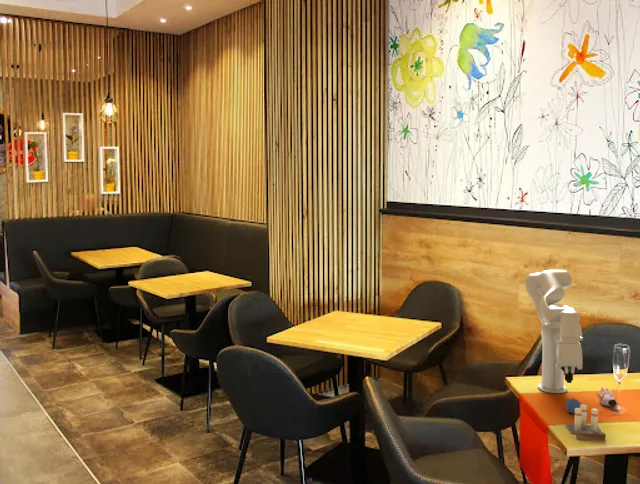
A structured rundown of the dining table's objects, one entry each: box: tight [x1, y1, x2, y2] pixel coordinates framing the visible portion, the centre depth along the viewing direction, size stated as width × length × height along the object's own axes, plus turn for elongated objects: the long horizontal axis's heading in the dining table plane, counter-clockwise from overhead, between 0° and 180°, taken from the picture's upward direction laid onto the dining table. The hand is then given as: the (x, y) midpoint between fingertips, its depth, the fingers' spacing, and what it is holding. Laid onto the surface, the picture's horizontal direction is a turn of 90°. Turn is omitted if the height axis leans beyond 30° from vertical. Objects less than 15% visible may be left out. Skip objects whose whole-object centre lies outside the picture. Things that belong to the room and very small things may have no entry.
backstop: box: [575, 431, 607, 442], centre depth 243 cm, size 2×10×2 cm, turn 82°
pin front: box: [580, 403, 588, 428], centre depth 253 cm, size 2×2×9 cm
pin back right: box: [573, 408, 582, 432], centre depth 249 cm, size 2×2×9 cm
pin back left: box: [590, 408, 599, 432], centre depth 248 cm, size 2×2×9 cm
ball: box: [564, 398, 581, 414], centre depth 268 cm, size 6×6×6 cm
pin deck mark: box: [564, 423, 603, 435], centre depth 252 cm, size 9×12×1 cm
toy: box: [595, 387, 617, 407], centre depth 278 cm, size 9×6×15 cm
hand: (568, 382), depth 276 cm, fingers closed
